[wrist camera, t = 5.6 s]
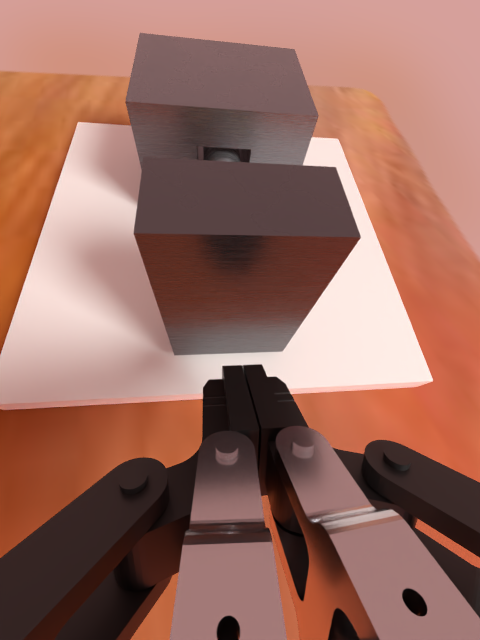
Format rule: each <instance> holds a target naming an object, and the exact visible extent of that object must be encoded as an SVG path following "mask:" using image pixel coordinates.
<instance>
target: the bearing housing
mask: <svg viewBox="0 0 480 640" xmlns="http://www.w3.org/2000/svg"><path fill="white" fill-rule="evenodd" d="M126 106H127V110H128V114H129V118H130V123H131V127H132V131H133V136H134V140H135V144H136V148H137V153H138V157H139V161H140V166H141V170H142V165H143V158H144V157H151V158H170V159H190V160H204V152H203V147H217V148H234V149H239V152H240V160H241V162H248V163H268V164H287V165H303V163H304V160H305V156H306V153H307V150H308V147H309V144H310V141H311V138H312V135H313V131H314V128H315V125H316V122H317V119H318V113H317V110H316V108H315V105H314V102H313V99H312V97H311V94H310V91H309V88H308V86H307V83H306V80H305V77H304V75H303V72H302V69H301V67H300V64H299V61H298V58H297V55H296V53H295V50H294V49H287V48H277V47H268V46H258V45H249V44H238V43H230V42H220V41H210V40H201V39H192V38H183V37H172V36H163V35H154V34H145V33H140V35H139V40H138V45H137V49H136V55H135V59H134V64H133V68H132V73H131V78H130V82H129V87H128V92H127V97H126Z"/></svg>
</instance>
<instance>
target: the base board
mask: <svg viewBox="0 0 480 640" xmlns="http://www.w3.org/2000/svg"><path fill="white" fill-rule="evenodd" d="M303 165H307V166H326V167H336V169H337V172H338V174H339V177H340V180H341V183H342V185H343V188H344V191H345V194H346V197H347V199H348V202H349V205H350V208H351V211H352V213H353V216H354V219H355V222H356V224H357V227H358V230H359V233H360V236H361V238H360V240H359V241H358V243H357V244H356V245H355V247H354V248H353V250H352V251H351V253H350V254H349V256H348V257H347V259H346V260H345V261H344V263H343V264H342V266H341V267H340V269H339V270H338V272H337V273H336V274H335V276H334V277H333V279H332V280H331V282H330V283H329V285H328V286H327V288H326V289H325V290H324V292H323V293H322V295H321V296H320V298H319V299H318V301H317V302H316V304H315V305H314V306H313V308H312V309H311V311H310V312H309V314H308V315H307V317H306V318H305V320H304V321H303V322H302V324H301V325H300V327H299V328H298V330H297V331H296V333H295V334H294V336H293V337H292V338H291V340H290V341H289V343H288V344H287V346H286V347H285V349H284V350H283V352H255V353H228V354H200V355H174V353H173V350H172V347H171V344H170V341H169V338H168V335H167V332H166V329H165V326H164V323H163V320H162V317H161V314H160V311H159V308H158V305H157V302H156V299H155V296H154V293H153V290H152V287H151V284H150V281H149V278H148V275H147V272H146V269H145V266H144V263H143V260H142V257H141V254H140V251H139V248H138V245H137V242H136V239H135V236H134V225H135V218H136V210H137V203H138V195H139V188H140V180H141V173H142V170H141V166H140V161H139V157H138V153H137V148H136V144H135V140H134V136H133V131H132V127H131V126H130V125H115V124H100V123H84V122H78V124H77V127H76V130H75V133H74V136H73V139H72V142H71V145H70V148H69V151H68V154H67V157H66V160H65V163H64V166H63V169H62V172H61V175H60V178H59V181H58V184H57V187H56V190H55V193H54V196H53V199H52V202H51V205H50V208H49V211H48V214H47V217H46V220H45V223H44V226H43V229H42V232H41V235H40V238H39V241H38V244H37V247H36V250H35V253H34V256H33V259H32V262H31V265H30V268H29V271H28V274H27V277H26V280H25V283H24V286H23V289H22V292H21V295H20V298H19V301H18V304H17V307H16V310H15V313H14V316H13V319H12V322H11V325H10V328H9V331H8V334H7V337H6V340H5V343H4V346H3V349H2V352H1V355H0V409H2V410H14V409H32V408H50V407H67V406H85V405H103V404H121V403H139V402H157V401H174V400H192V399H203V387H204V386H205V384H206V383H207V381H208V380H210V379H222V366H230V365H254V364H262V365H263V368H264V370H265V372H266V375H267V377H278V378H279V379H280V380H282V381H283V382H284V383H285V384H286V385H287V387H288V389H289V391H290V394H299V393H317V392H335V391H353V390H370V389H388V388H406V387H417V386H420V385H423V384H426V383H429V382H432V381H433V379H432V376H431V374H430V371H429V369H428V366H427V364H426V361H425V359H424V356H423V354H422V351H421V348H420V346H419V343H418V341H417V338H416V336H415V333H414V331H413V328H412V326H411V323H410V320H409V318H408V315H407V313H406V310H405V308H404V305H403V303H402V300H401V298H400V295H399V293H398V290H397V287H396V285H395V282H394V280H393V277H392V275H391V272H390V270H389V267H388V265H387V262H386V259H385V257H384V254H383V252H382V249H381V247H380V244H379V242H378V239H377V237H376V234H375V231H374V229H373V226H372V224H371V221H370V219H369V216H368V214H367V211H366V209H365V206H364V203H363V201H362V198H361V196H360V193H359V191H358V188H357V186H356V183H355V181H354V178H353V175H352V173H351V170H350V168H349V165H348V163H347V160H346V158H345V155H344V153H343V150H342V147H341V145H340V142H339V140H338V139H331V138H315V137H312V138H311V141H310V144H309V147H308V150H307V153H306V156H305V160H304V163H303Z"/></svg>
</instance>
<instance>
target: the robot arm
mask: <svg viewBox="0 0 480 640" xmlns="http://www.w3.org/2000/svg"><path fill="white" fill-rule="evenodd" d="M263 495H268V498H269V502H270V526H271V529H272V533H273V536H274V539H275V543H276V546H277V549H278V553H279V556H280V559H281V563H282V566H283V570H284V573H285V576H286V580H287V583H288V586H289V590H290V593H291V596H292V600H293V603H294V607H295V611H296V615H297V621H298V629H299V638H300V640H480V568H477V567H475V566H473V565H471V564H470V563H468V562H467V561H465V560H464V559H462V558H461V557H459V556H458V555H456V554H454V553H453V552H451V551H450V550H448V549H447V548H445V547H444V546H442V545H441V544H439V543H438V542H436V541H435V540H433V539H432V538H430V537H428V536H427V535H425V534H424V533H422V532H421V531H419V530H418V529H416V528H415V525H416V522H417V519H420V520H421V521H423V522H424V523H426V524H428V525H429V526H431V527H432V528H434V529H435V530H437V531H439V532H440V533H442V534H443V535H445V536H447V537H448V538H450V539H451V540H453V541H454V542H456V543H458V544H459V545H461V546H462V547H464V548H466V549H467V550H469V551H470V552H472V553H474V554H475V555H477V556H478V557H480V483H479V482H477V481H475V480H473V479H471V478H469V477H467V476H465V475H463V474H461V473H459V472H457V471H455V470H453V469H451V468H449V467H447V466H444V465H442V464H440V463H438V462H436V461H434V460H432V459H430V458H428V457H426V456H424V455H422V454H420V453H418V452H416V451H414V450H412V449H410V448H408V447H406V446H403V445H401V444H399V443H396V442H392V441H387V440H376V441H372V442H370V443H369V444H368V445H367V446H366V448H365V452H364V454H360V453H354V452H348V451H343V450H338V449H335V448H332V447H331V445H330V444H329V442H328V441H327V440H326V438H325V437H324V436H323V435H321V434H320V433H319V432H317V431H315V430H313V429H311V428H309V427H308V425H307V423H306V422H305V420H304V418H303V416H302V414H301V412H300V410H299V408H298V406H297V404H296V403H295V402H294V399H293V397H292V395H291V394H290V391H289V389H288V387H287V385H286V384H285V383H284V382H283V381H282V380H280V379H279V378H278V377H267V375H266V372H265V370H264V368H263V365H262V364H254V365H230V366H222V379H210V380H208V381H207V383H206V384H205V386H204V387H203V437H202V443H201V446H200V448H199V450H198V451H197V452H196V453H195V454H194V455H193V456H192V457H191V458H189V459H188V460H186V461H184V462H182V463H180V464H177V465H174V466H172V467H169V468H165V466H164V465H163V464H162V463H161V462H159V461H158V460H155V459H152V458H136V459H132V460H129V461H126V462H124V463H122V464H120V465H119V466H117V467H116V468H114V469H113V470H112V471H110V472H109V473H108V474H107V475H105V476H104V477H103V478H102V479H100V480H99V481H98V482H97V483H95V484H94V485H93V486H91V487H90V488H89V489H88V490H86V491H85V492H84V493H83V494H81V495H80V496H79V497H78V498H76V499H75V500H74V501H72V502H71V503H70V504H69V505H67V506H66V507H65V508H64V509H62V510H61V511H60V512H58V513H57V514H56V515H55V516H53V517H52V518H51V519H50V520H48V521H47V522H46V523H45V524H43V525H42V526H41V527H39V528H38V529H37V530H36V531H34V532H33V533H32V534H31V535H29V536H28V537H27V538H26V539H24V540H23V541H22V542H20V543H19V544H18V545H17V546H15V547H14V548H13V549H12V550H10V551H9V552H8V553H7V554H5V555H4V556H3V557H1V558H0V640H130V639H131V637H132V636H133V635H134V633H135V632H136V630H137V629H138V627H139V626H140V624H141V623H142V622H143V620H144V619H145V617H146V616H147V614H148V613H149V612H150V610H151V609H152V607H153V606H154V604H155V603H156V601H157V600H158V599H159V597H160V596H161V594H162V593H163V591H164V590H165V588H166V587H167V585H168V584H169V582H170V580H171V577H172V575H174V574H176V573H178V572H179V576H178V583H177V590H176V597H175V605H174V612H173V619H172V627H171V634H170V640H287V637H286V631H285V624H284V617H283V610H282V604H281V597H280V590H279V583H278V577H277V570H276V563H275V556H274V550H273V543H272V538H271V534H270V530H269V528H266V527H265V522H264V515H263V507H262V500H261V496H263Z"/></svg>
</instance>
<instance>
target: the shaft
mask: <svg viewBox="0 0 480 640" xmlns="http://www.w3.org/2000/svg"><path fill="white" fill-rule="evenodd" d="M203 152H204V160H190V159H170V158H151V157H144V158H143V165H142V173H141V180H140V188H139V195H138V203H137V210H136V218H135V225H134V236H135V239H136V242H137V245H138V248H139V251H140V254H141V257H142V260H143V263H144V266H145V269H146V272H147V275H148V278H149V281H150V284H151V287H152V290H153V293H154V296H155V299H156V302H157V305H158V308H159V311H160V314H161V317H162V320H163V323H164V326H165V329H166V332H167V335H168V338H169V341H170V344H171V347H172V350H173V353H174V355H200V354H228V353H255V352H283V350H284V349H285V347H286V346H287V344H288V343H289V341H290V340H291V338H292V337H293V336H294V334H295V333H296V331H297V330H298V328H299V327H300V325H301V324H302V322H303V321H304V320H305V318H306V317H307V315H308V314H309V312H310V311H311V309H312V308H313V306H314V305H315V304H316V302H317V301H318V299H319V298H320V296H321V295H322V293H323V292H324V290H325V289H326V288H327V286H328V285H329V283H330V282H331V280H332V279H333V277H334V276H335V274H336V273H337V272H338V270H339V269H340V267H341V266H342V264H343V263H344V261H345V260H346V259H347V257H348V256H349V254H350V253H351V251H352V250H353V248H354V247H355V245H356V244H357V243H358V241H359V240H360V238H361V236H360V233H359V230H358V227H357V224H356V222H355V219H354V216H353V213H352V211H351V208H350V205H349V202H348V199H347V197H346V194H345V191H344V188H343V185H342V183H341V180H340V177H339V174H338V172H337V169H336V167H326V166H307V165H287V164H268V163H248V162H241V160H240V152H239V149H234V148H217V147H203Z"/></svg>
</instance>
